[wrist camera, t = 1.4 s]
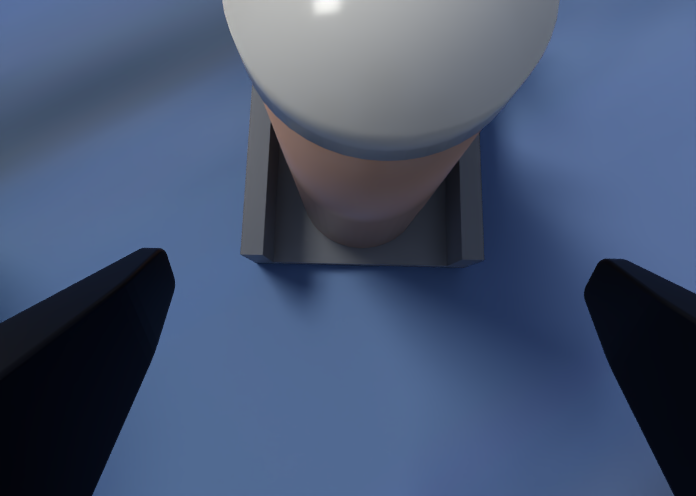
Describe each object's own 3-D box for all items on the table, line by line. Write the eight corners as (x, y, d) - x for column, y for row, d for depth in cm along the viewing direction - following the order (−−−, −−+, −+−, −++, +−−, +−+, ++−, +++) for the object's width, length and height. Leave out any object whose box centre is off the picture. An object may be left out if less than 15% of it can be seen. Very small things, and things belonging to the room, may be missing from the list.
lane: (463, 267, 20) (519, 247, 14) (255, 262, 20) (214, 239, 14) (456, 15, 23) (500, -102, 16) (271, 10, 23) (242, -110, 16)
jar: (448, 191, 20) (628, -17, 7) (360, 276, 19) (389, 208, 7) (362, 108, 21) (391, -211, 8) (274, 186, 20) (151, -30, 7)
